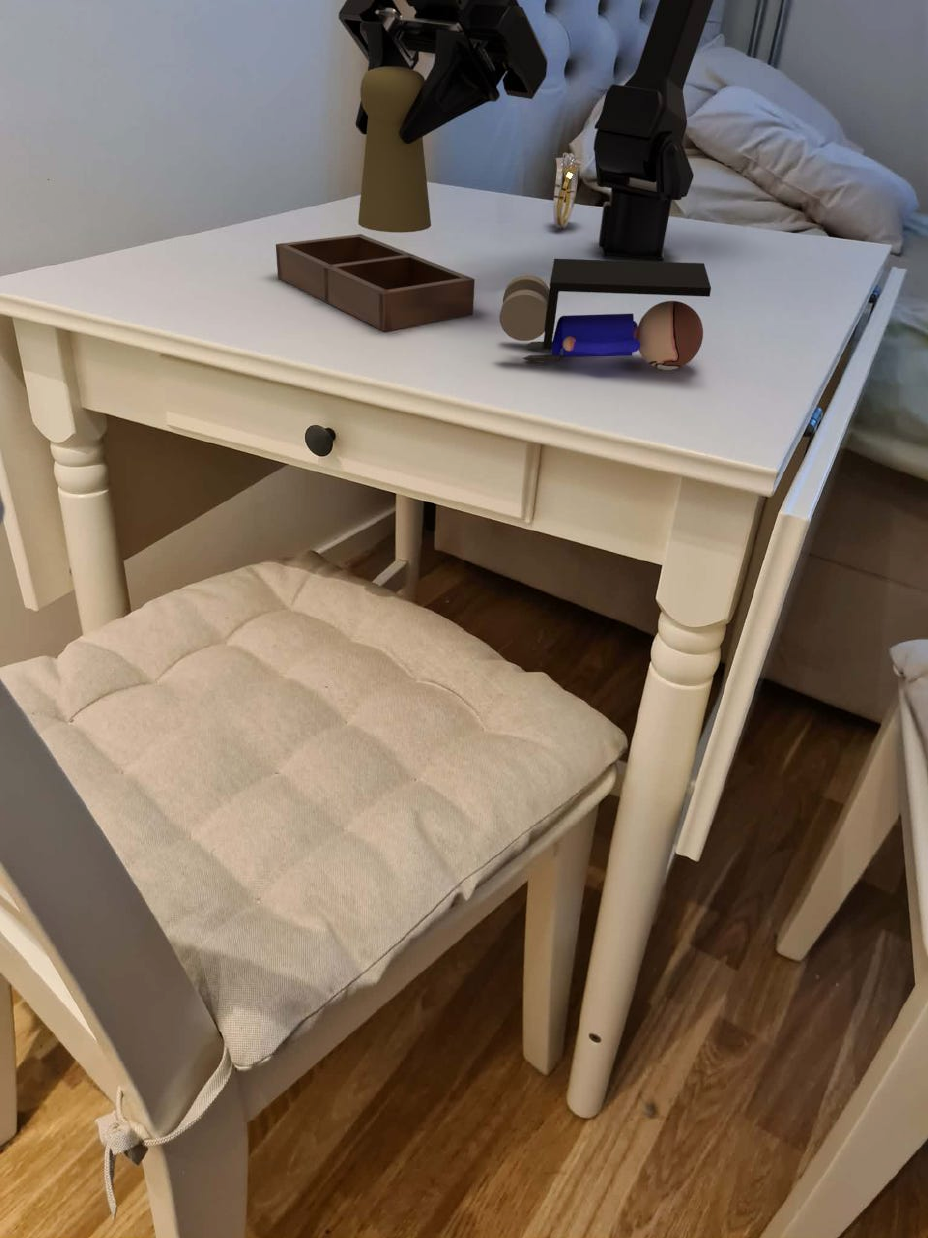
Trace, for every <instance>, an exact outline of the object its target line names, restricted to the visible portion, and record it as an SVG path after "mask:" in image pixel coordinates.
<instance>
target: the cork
mask: <svg viewBox="0 0 928 1238" xmlns="http://www.w3.org/2000/svg"><path fill="white" fill-rule="evenodd" d="M425 81H426V79H425V77H424V75H423V74H422V73H420V72H419V71H417V70H414V69H413V70H412V69H408V68H404V67H395V66H385V67H379V68H375V69H372V70H369V71H368V70H367V71H366V72H365V73H364V75H363V77H362V79H361V82H360V87H359V92H360V102H361V101H362V105H363V108H364V110H365V112H366V114H367V115H368V124H367V134H366V135H365V147H364V156H363V157H364V158H363V159H364V160H363V166H362V167H363V168H362V177H361V188H360V199H359V210H358V220H357V222H358V225H359V226H360V227H361V228H364V229H368V230H371V231H375V232H383V233H401V234H402V233H415V232H422V231H425V230H429V228H431V227H432V219H431V218H432V217H431V210H430V199H429V198H430V197H429V190H428V188H429V187H428V178H427V170H426V169H427V168H426V160H425V159H426V158H425V149H424V139H423V137H421V138H420V139H418V140H416V141H414V142H413V143H411V144H405V143H404V142H403V141H402V139H401V138H400V136H399V131H400V129H401V127H402V124H403V122H404V120H405V118H406V116H407V114H408V112H409V110H410V108H411V106H412V104H413V103H414V101H415V99H416V97H417V95H418V93H419V92H420V90H421V88H422V86H423V84H424V82H425Z"/></svg>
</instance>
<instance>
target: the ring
mask: <svg viewBox="0 0 928 1238" xmlns="http://www.w3.org/2000/svg"><path fill="white" fill-rule="evenodd" d="M579 156H580V153H578V152H576V153H575V154H574V153H573V152H569V153H568V152H564V151H563V154H562V157H555V162H556V175H555V183H554V191H553V193H554V194H553V202H552V203H553V205H552V213H553V214H552V215H553V222H554V225H555V226H556V227H557V228H558V229H567V225H568V224H569V221H570V219H571V218H572V214H573V211H574V206H575V201H576V198H577V197H576V195H577V189H578V179H579V171H580V166H581V165H582V163H583V160H582V159H579ZM563 177H564V182H563ZM564 203H565V205H564ZM563 208H564V209H563Z"/></svg>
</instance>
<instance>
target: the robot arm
mask: <svg viewBox="0 0 928 1238" xmlns="http://www.w3.org/2000/svg"><path fill="white" fill-rule="evenodd" d="M405 2H406V4H407V5H408V7H410V8H411V7H412V8H413V9H414V11H415V13H414V15H413V17H412V16H403V14H402V12H401V11H400V10H399V8H398V6H397V5H396V3H395V1H394V0H346V1H345V2H344V4H343V5H342V7H341V8H340V10H339V12H338V20H339V21H340V22H341V24H342V25H343V26H344V29H345V30H346V31H347V33H348V34H349V35H350V37H351V39H352V40H353V42H354V43H355V44H356V46H357V47H358V49H359V50H360V51H361V53H362V54H363V56H364V57H365V59H366V60H367V61H368V66H367V72H368V71H369V70H372V69H375V68H379V67H385V66H395V67H404V68H408V69H412V70H414V69H415V68H416V66H417V64H418V63H419V61H420V53H422V54H423V55H424V56H425V57H426V58H430V59H431V58H432V59H434V60H433V61H434V62H433V66H432V68H431V69H430V71H429V73H428V75H427V77H426V79H425V82H424V84H423V86H422V88H421V90H420V92H419V93H418V95H417V97H416V99H415V101H414V103H413V104H412V106H411V108H410V110H409V112H408V114H407V116H406V118H405V120H404V122H403V124H402V127H401V129H400V131H399V136H400V138H401V139H402V141H403V142H404V143H405V144H411V143H413V142H414V141H416V140H418V139H420V138H421V137H422V138H423V137H425V136H427V135H428V134H430V133H432V132H434V131H435V130H437V129H439V128H440V127H443V126H444V125H446V124H447V123H449V122H451V121H453V120H455V119H456V118H458V117H461V116H462V115H465V114H466V113H469V112H471V111H472V110H475V109H476V108H478V107H480V106H482V105H484V104H487V103H489V102H493V103H495V102H497V101H498V100H499V99H500V97H501V94H500V91H499V89H498V88H497V87H498V85H499V84H500V82H501V81H502V85H503V90H504V91H505V94H506V95H507V96H510V97H515V98H522V99H529V100H533V99H534V97H535V95H536V94H537V92H538V91H539V89H540V88H541V87H542V85H543V83H544V81H545V80H546V78H547V73H548V72H547V71H548V57H547V55H546V53H545V51H544V49H543V46H542V45H541V43H540V41H539V39H538V36H537V35H536V32H535V31H534V28H533V26H532V24H531V22H530V20H529V18H528V16H527V14H526V12H525V10H524V8H523V6H520V4H519V2H518V0H405ZM713 4H714V0H658V3H657V5H656V8H655V12H654V15H653V18H652V21H651V23H650V27H649V30H648V33H647V36H646V40H645V43H644V46H643V49H642V52H641V55H640V58H639V60H638V63H637V67H636V68H635V71H634V73H633V74H632V75H631V77H630V78H629V79H628V80H627V81H626V82H625V83H624V84H623V85H622V84H614V83H613V84H611V85H610V86H609V88H608V90H607V91H606V93H605V97H604V100H603V101H604V102H603V105H602V110H601V113H600V115H599V118H598V119H597V121H596V123H595V124H594V129H595V130H596V132H595V137H594V139H593V140H594V141H593V153H594V163H595V177H596V185H597V187H599V188H608V189H610V197H609V201H605V202H604V203H603V207H602V216H601V223H600V229H599V236H598V246H599V248H600V249H601V248H602V249H601V250H602V257H607V258H615V259H627V260H638V261H650V262H665V261H664V260H665V253H664V248H665V247H664V246H665V240H666V236H667V235H666V234H667V228H668V224H669V217H670V213H671V206H672V201H682V198H686V197H687V196H688V194H689V191H690V188H691V186H692V183H693V180H694V176H695V175H694V172H693V169H692V167H691V164H690V161H689V158H688V155H687V153H686V150H685V147H684V145H683V141H684V138H685V133H686V131H687V126H688V117H687V110H686V104H685V96H684V89H685V88H684V86H685V84H686V81H687V78H688V75H689V72H690V69H691V67H692V64H693V61H694V58H695V55H696V52H697V49H698V47H699V44H700V41H701V38H702V35H703V32H704V30H705V27H706V24H707V21H708V18H709V16H710V12H711V9H712V6H713ZM354 123H355V124H354V125H355V127H356V129H357V130H358V131H359V133H360V134H361V135H364V136H366V135H367V124H368V115H367V114H366V112H365V110H364V108H363V105H362V101H361V100H360V102H359V107H358V110H357V114H356V119H355V122H354Z"/></svg>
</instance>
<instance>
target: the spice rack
mask: <svg viewBox="0 0 928 1238" xmlns="http://www.w3.org/2000/svg"><path fill="white" fill-rule="evenodd" d="M275 257H276V269H277V270H276V271H277V279H278V280H281V281H283V282H285V283H287V284H289V285H291V286H293V287H295V288H297V289H299V290H300V291H303V292H305V293H306V294H308V295H311V296H313V297H315V298H317V299H319V300H321V301H323V302H325V303H326V304H329V305H331V306H332V307H335V308H336V309H338V310H341V311H343V312H345V313H346V314H349V315H350V316H353V317H354V318H357V319H359V320H361V321H362V322H364V323H367V324H369V325H370V326H373V327H374V328H376V329H377V330H380V331H382V332H390V331H395V330H400V329H404V328H405V329H406V328H412V327H415V326H416V327H417V326H421V325H427V324H433V323H438V322H442V321H447V320H448V321H449V320H453V319H457V318H464V317H468V316H473V315H474V303H475V301H474V300H475V285H476V284H475V283H476V279H475V278H473V277H471V276H469V275H465V274H463V273H461V272H458V271H456V270H453V269H450V268H448V267H445V266H442V265H440V264H438V263H435V262H433V261H430V260H428V259H425V258H423V257H420V256H418V255H415V254H413V253H410V252H408V251H405V250H402V249H400V248H397V247H394V246H392V245H390V244H387V243H384V242H382V241H380V240H377V239H375V238H372V237H370V236H366V235H364V234H361V233H360V234H349V235H341V236H332V237H325V238H317V239H308V240H299V241H289V242H282V243H276V244H275Z"/></svg>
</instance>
